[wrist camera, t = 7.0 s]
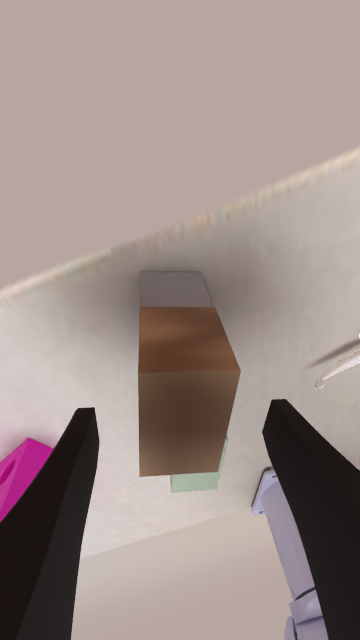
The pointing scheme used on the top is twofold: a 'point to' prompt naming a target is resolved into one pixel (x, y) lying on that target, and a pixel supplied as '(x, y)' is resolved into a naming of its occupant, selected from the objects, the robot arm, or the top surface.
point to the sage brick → (197, 479)
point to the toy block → (20, 472)
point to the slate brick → (173, 289)
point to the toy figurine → (340, 367)
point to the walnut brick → (183, 390)
